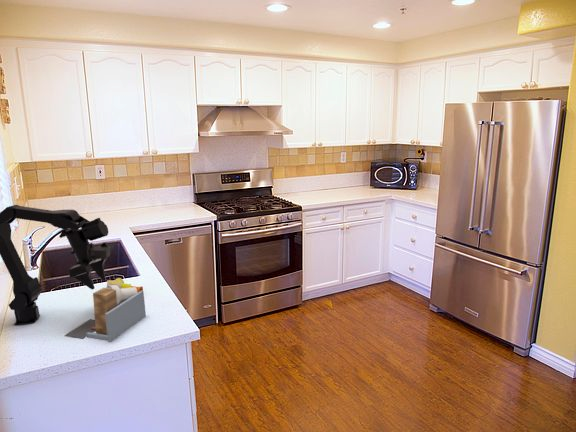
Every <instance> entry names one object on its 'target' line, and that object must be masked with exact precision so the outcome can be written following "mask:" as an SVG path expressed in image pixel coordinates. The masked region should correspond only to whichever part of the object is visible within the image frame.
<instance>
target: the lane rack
mask: <svg viewBox="0 0 576 432" xmlns="http://www.w3.org/2000/svg"><path fill="white" fill-rule="evenodd" d="M145 304H146V303H145V294H144V290H143V291H140V292H138V293H137V294H135V295H134V296H132V297H130V298H129V299H127V300H123V302H121V303H119V304H118V305H117V306H116V307H115V308H113V309H112V310H110V311H109V312H107V313H105V319H106V327H107V335H104V334H97V333H96V332H92V333H91V332H88V333H86V335H87V337H86V338H88V339H94V340H99V341H100V340H101V341H102V340H103V341H108V343H112V342H113V341H115V340H117V338H118V337H119V336H121V335H123V334H124V333H126V331H127V330H129V329H130V328H132V327H133V326H135V325H136V324H137V323H138V322H140V321H141V320H143V319H144V318H145V317H146V316H147V315H146V314H147V313H146V305H145Z"/></svg>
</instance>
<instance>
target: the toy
mask: <svg viewBox="0 0 576 432" xmlns="http://www.w3.org/2000/svg"><path fill="white" fill-rule="evenodd" d="M124 281H125V280H123V279H122V278H120V277H117V278H115V279H114V280H110V279H108V280H107V281H106V287H107V286H109V285H117V286H118V287H119V288H120V289H121V288H131V287H136V289H137V292H140V291H143V292H144V287H143V286H141V285H140V286H134V285H132V284H131V283H125V282H124Z"/></svg>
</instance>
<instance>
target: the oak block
mask: <svg viewBox="0 0 576 432" xmlns="http://www.w3.org/2000/svg"><path fill="white" fill-rule="evenodd" d="M92 299H93V301H92V302H93V309H94V320H95V325H96V327H91V329H94V330H95V333H97V334H104V335H107V327H106V319H105V313H107V312H109V311H110V310H112V309H113V308H115V307H116V306H118V305H117V298H116V290H114V289H109V288H106V287H102V288H100V289H98V290H97V291H95V292H93V293H92Z"/></svg>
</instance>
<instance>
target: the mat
mask: <svg viewBox="0 0 576 432" xmlns="http://www.w3.org/2000/svg"><path fill="white" fill-rule="evenodd" d="M91 327H96V325H95V319H94V318H93V319H92V318H90V319H88V320H87V321H85V322H83V323H82V324H79V326H77V327H75V328H74V329H72V330H70V331H69V332H67V333H66V334H64V337H69V338H73V339H80V340H84V339H85V338H88V337H87V335H86V333H88V332H91V333H95V332H96V330H94V329H91Z"/></svg>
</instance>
